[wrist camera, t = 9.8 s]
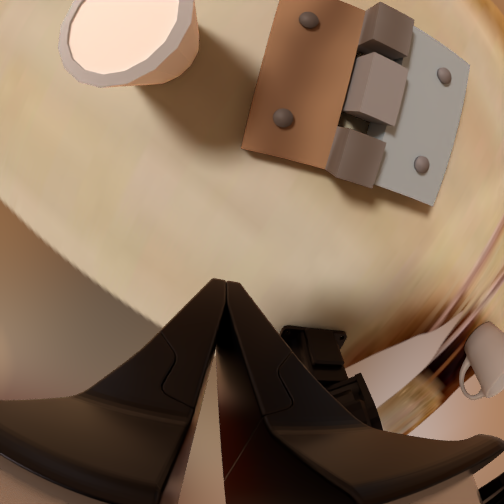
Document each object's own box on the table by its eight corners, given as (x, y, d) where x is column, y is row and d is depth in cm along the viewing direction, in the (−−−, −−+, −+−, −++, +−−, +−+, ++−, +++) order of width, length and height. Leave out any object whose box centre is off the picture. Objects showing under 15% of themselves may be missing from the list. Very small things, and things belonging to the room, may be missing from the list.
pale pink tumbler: (95, 45, 14) (39, 28, 8) (177, -12, 12) (151, -58, 6) (141, 113, 17) (94, 117, 10) (229, 56, 15) (224, 25, 9)
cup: (501, 325, 29) (530, 362, 22) (456, 371, 33) (479, 412, 25) (489, 307, 27) (525, 349, 19) (438, 360, 30) (465, 407, 23)
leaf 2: (450, 65, 15) (478, 64, 12) (415, 195, 20) (440, 211, 17) (362, 15, 14) (384, 1, 10) (323, 164, 19) (340, 175, 16)
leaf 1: (389, 29, 14) (414, 19, 11) (351, 175, 19) (372, 188, 16) (282, -10, 13) (291, -31, 10) (241, 146, 18) (241, 153, 15)
